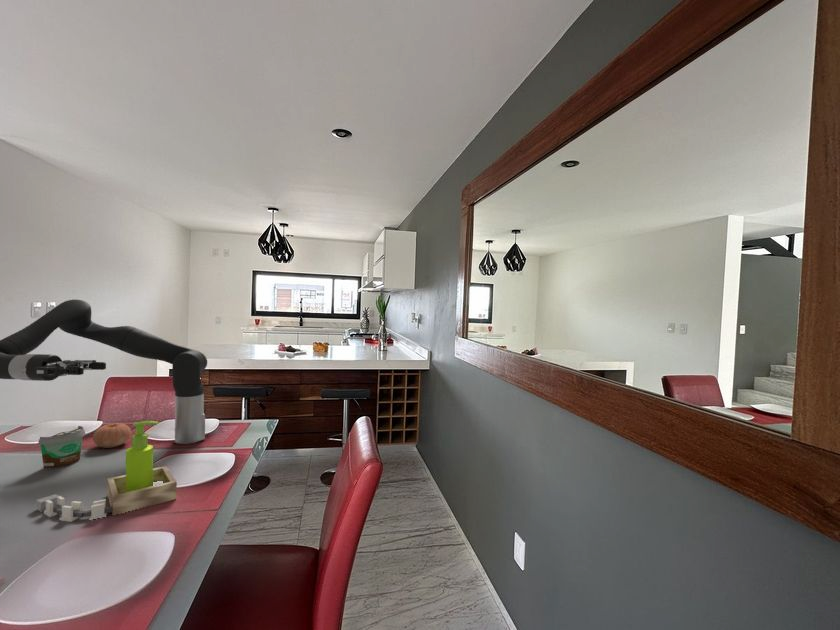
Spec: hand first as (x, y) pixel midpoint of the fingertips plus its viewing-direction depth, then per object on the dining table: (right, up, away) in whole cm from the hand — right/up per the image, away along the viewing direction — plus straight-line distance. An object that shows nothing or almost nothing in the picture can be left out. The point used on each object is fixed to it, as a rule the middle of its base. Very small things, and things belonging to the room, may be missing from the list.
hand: (94, 368), depth 116 cm
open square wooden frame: (+21, -33, -10) cm, 40 cm away
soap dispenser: (+21, -33, -10) cm, 40 cm away
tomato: (-14, -31, +26) cm, 43 cm away
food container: (-16, -32, +10) cm, 37 cm away
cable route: (+10, -33, -18) cm, 39 cm away
